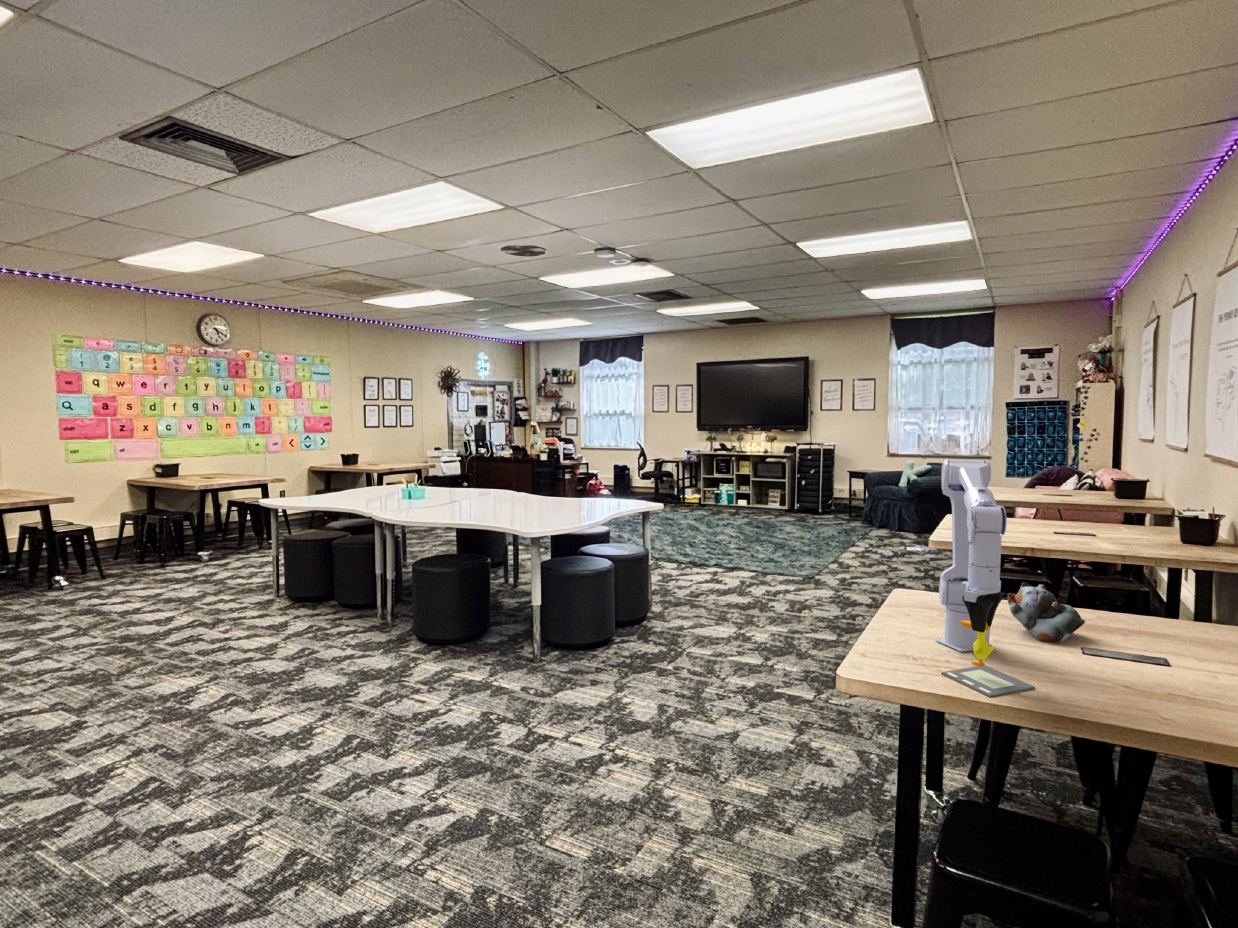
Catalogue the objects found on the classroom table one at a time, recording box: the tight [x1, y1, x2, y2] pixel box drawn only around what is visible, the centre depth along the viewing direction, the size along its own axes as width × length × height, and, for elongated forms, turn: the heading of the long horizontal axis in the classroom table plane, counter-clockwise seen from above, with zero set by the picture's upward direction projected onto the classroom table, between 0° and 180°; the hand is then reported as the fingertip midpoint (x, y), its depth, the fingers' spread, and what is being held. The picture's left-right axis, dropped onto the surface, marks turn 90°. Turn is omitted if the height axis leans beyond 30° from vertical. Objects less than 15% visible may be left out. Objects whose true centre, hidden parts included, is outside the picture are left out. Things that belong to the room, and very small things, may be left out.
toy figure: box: [960, 620, 995, 667], centre depth 139 cm, size 7×4×12 cm, turn 42°
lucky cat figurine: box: [1007, 581, 1086, 645], centre depth 166 cm, size 15×12×14 cm
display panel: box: [940, 664, 1036, 698], centre depth 138 cm, size 12×12×1 cm
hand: (981, 629), depth 138 cm, fingers closed on toy figure, 3 cm apart
